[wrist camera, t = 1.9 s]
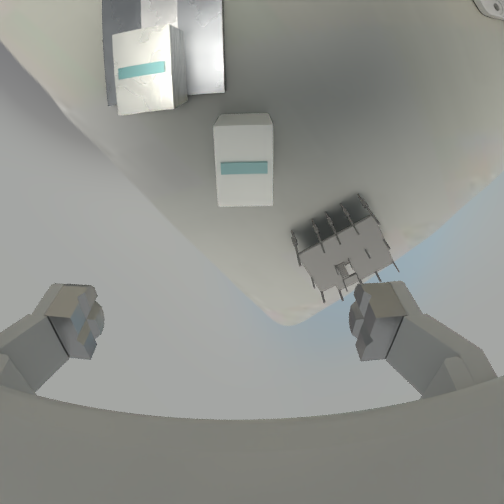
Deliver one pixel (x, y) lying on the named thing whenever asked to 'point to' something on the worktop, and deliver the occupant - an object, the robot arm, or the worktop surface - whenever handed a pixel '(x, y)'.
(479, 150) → the worktop surface
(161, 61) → the rail plate
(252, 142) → the block
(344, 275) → the building frame
